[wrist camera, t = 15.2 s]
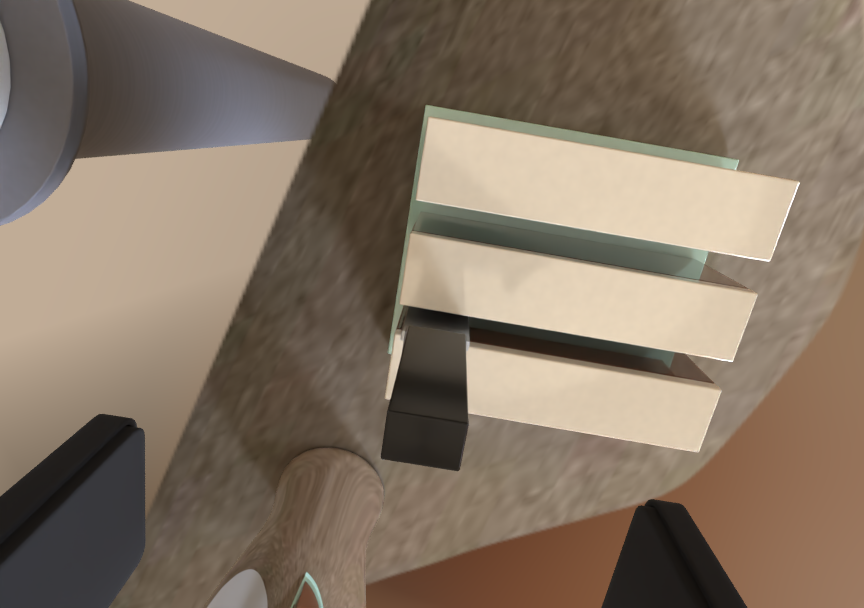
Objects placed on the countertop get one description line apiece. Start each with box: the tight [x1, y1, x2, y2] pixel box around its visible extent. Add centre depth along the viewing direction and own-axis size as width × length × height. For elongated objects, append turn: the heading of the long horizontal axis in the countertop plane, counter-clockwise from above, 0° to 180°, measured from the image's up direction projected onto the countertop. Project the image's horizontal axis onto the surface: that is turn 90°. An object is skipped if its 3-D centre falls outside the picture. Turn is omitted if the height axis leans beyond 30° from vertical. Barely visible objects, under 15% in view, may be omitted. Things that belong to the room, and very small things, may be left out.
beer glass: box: [203, 448, 384, 608], centre depth 24 cm, size 7×7×15 cm
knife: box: [381, 306, 470, 471], centre depth 20 cm, size 2×1×14 cm, turn 81°
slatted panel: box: [385, 105, 799, 452], centre depth 23 cm, size 14×12×6 cm
